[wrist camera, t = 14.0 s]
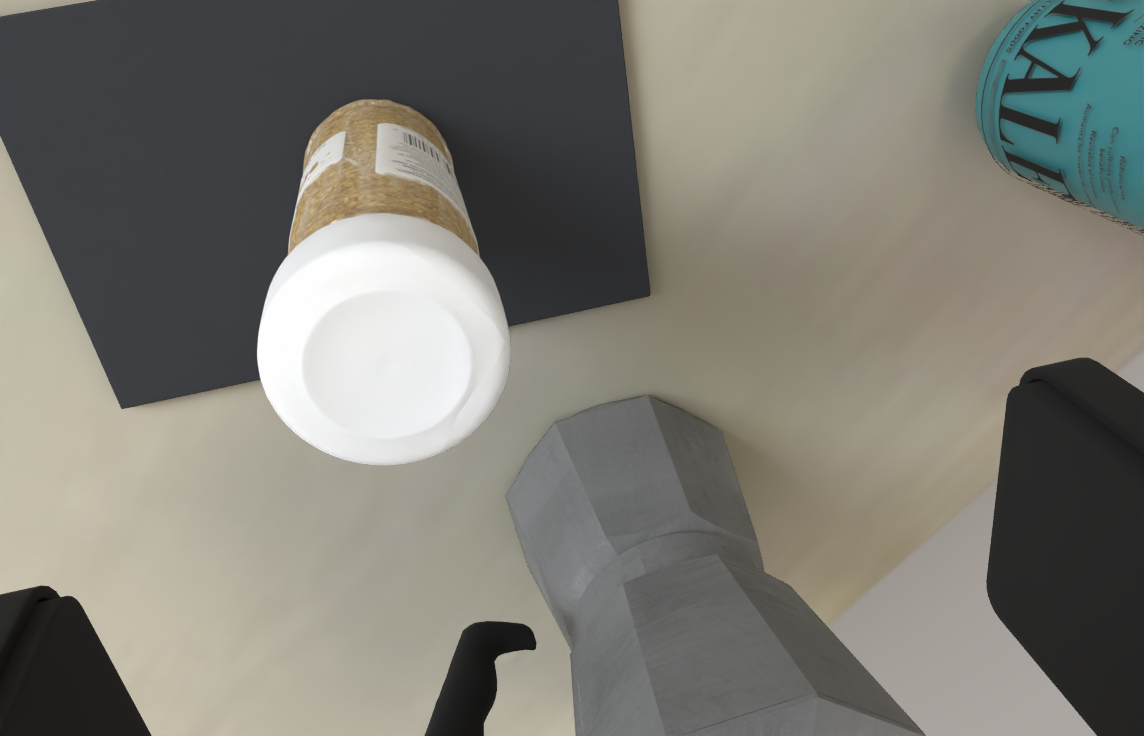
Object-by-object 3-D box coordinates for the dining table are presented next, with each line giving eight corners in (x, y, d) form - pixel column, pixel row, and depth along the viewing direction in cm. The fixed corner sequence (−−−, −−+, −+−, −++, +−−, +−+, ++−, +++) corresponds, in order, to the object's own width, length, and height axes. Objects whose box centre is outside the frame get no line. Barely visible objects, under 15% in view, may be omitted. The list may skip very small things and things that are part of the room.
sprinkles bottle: (276, 131, 27) (201, 307, 15) (419, 72, 27) (456, 202, 15) (346, 265, 29) (328, 510, 17) (478, 210, 29) (550, 418, 17)
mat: (-44, 24, 24) (-49, 25, 24) (605, -86, 26) (608, -86, 26) (124, 403, 30) (121, 409, 30) (648, 291, 32) (651, 296, 32)
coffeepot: (806, 400, 35) (1153, 797, 20) (746, 591, 39) (994, 1050, 24) (405, 373, 32) (437, 839, 16) (382, 588, 36) (390, 1132, 20)
